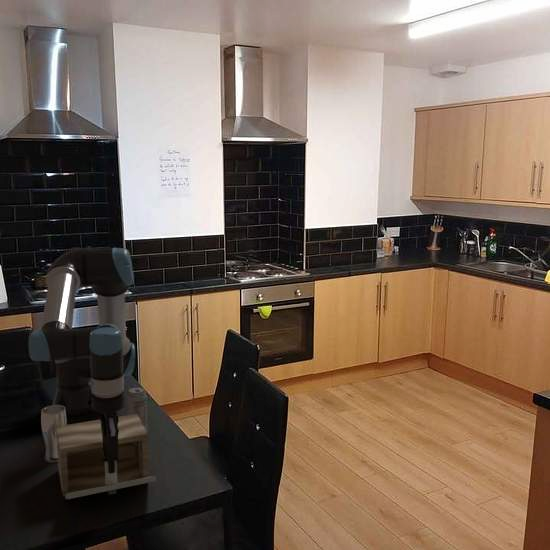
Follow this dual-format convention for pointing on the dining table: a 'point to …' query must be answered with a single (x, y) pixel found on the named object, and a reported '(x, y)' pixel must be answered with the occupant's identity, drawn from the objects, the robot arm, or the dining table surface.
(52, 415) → the beer glass
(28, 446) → the dining table surface
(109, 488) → the door
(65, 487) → the cabinet
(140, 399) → the energy drink can
